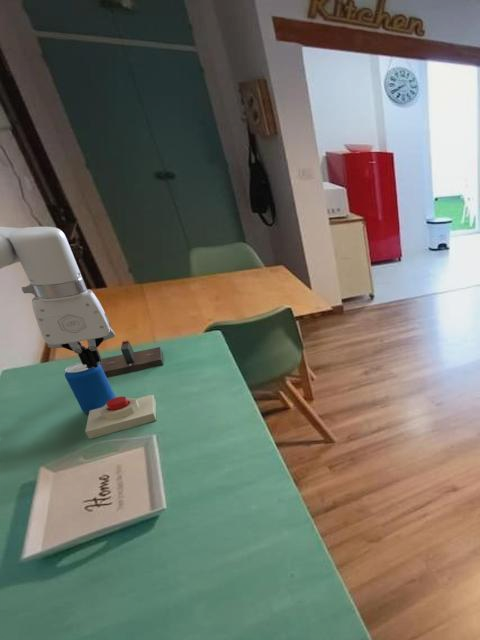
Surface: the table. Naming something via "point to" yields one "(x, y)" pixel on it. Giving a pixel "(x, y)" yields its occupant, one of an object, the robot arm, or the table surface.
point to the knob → (127, 351)
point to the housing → (121, 417)
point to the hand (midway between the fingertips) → (93, 365)
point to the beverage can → (89, 386)
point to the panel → (141, 361)
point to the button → (117, 403)
